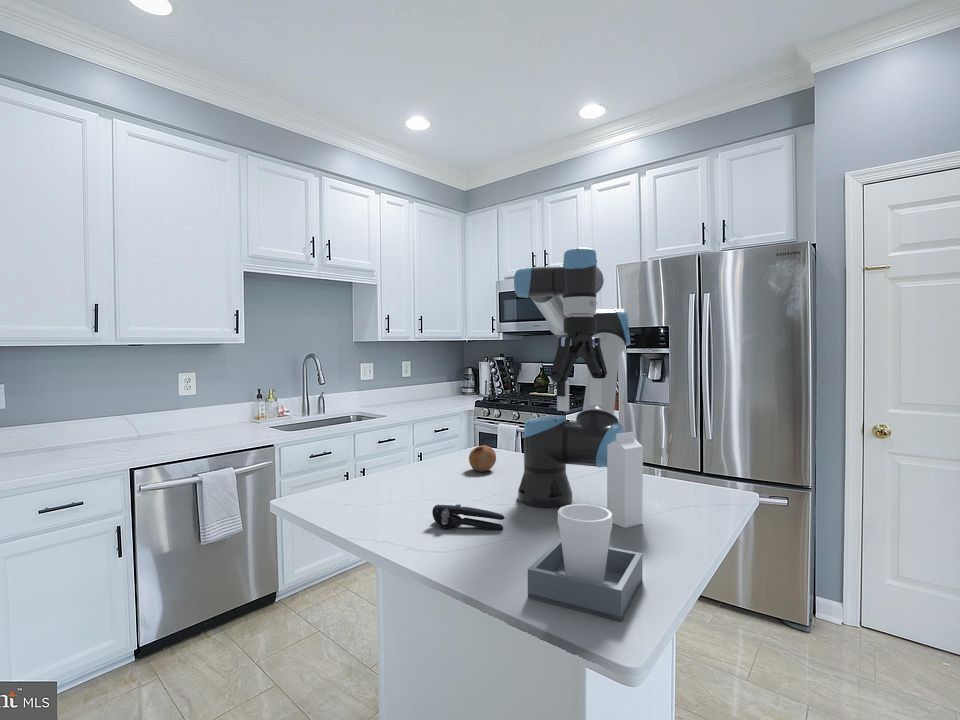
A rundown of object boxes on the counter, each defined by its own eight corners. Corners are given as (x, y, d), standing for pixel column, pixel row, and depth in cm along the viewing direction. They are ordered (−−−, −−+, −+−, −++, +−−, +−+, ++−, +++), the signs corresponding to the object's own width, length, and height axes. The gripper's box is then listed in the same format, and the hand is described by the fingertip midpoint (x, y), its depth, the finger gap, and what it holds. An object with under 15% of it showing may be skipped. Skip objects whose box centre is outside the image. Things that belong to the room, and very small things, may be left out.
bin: (527, 597, 87) (527, 569, 87) (560, 562, 101) (559, 537, 101) (621, 621, 80) (621, 590, 80) (642, 580, 94) (642, 553, 93)
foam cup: (557, 595, 87) (557, 520, 86) (558, 571, 96) (557, 503, 95) (615, 599, 85) (615, 522, 85) (609, 574, 94) (609, 505, 94)
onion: (480, 482, 171) (473, 458, 167) (467, 469, 179) (461, 446, 175) (503, 469, 175) (497, 446, 170) (490, 457, 183) (484, 434, 178)
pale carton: (642, 524, 123) (643, 433, 122) (624, 528, 120) (625, 435, 119) (624, 516, 128) (625, 429, 127) (606, 520, 125) (607, 431, 124)
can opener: (428, 530, 120) (427, 507, 120) (436, 520, 127) (436, 498, 127) (501, 536, 116) (501, 511, 116) (506, 525, 123) (506, 502, 123)
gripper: (562, 313, 106) (562, 415, 106) (621, 317, 124) (621, 404, 124) (533, 315, 111) (534, 411, 112) (594, 318, 129) (594, 401, 130)
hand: (580, 408), depth 118 cm, fingers open, 13 cm apart
